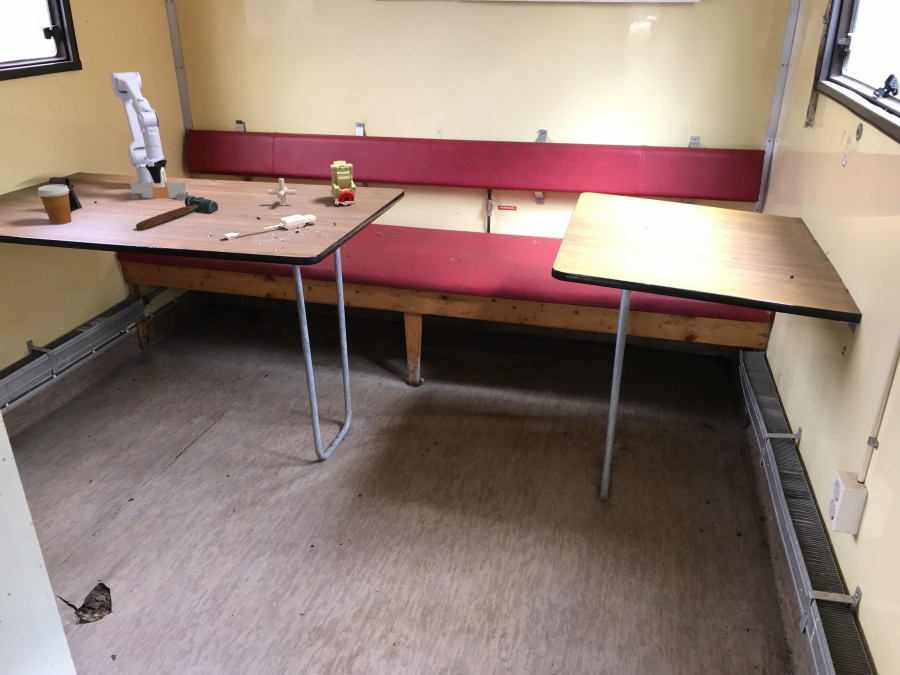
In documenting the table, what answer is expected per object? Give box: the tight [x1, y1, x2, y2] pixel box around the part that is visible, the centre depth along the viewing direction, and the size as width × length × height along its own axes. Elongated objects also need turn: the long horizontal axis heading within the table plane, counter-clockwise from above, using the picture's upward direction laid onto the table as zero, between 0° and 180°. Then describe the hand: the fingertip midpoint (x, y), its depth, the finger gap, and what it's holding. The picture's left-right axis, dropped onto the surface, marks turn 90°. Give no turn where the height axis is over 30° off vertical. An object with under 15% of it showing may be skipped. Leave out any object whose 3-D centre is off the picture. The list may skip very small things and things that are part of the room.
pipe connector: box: [267, 177, 297, 205], centre depth 253 cm, size 10×10×10 cm
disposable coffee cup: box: [37, 184, 72, 225], centre depth 233 cm, size 10×10×12 cm
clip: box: [150, 167, 168, 188], centre depth 261 cm, size 5×4×6 cm
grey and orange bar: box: [129, 181, 189, 201], centre depth 263 cm, size 6×20×6 cm, turn 90°
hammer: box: [135, 195, 219, 231], centre depth 239 cm, size 14×5×30 cm
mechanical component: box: [330, 160, 357, 202], centre depth 256 cm, size 8×17×20 cm, turn 19°
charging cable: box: [224, 214, 317, 237], centre depth 227 cm, size 5×32×3 cm, turn 126°
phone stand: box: [48, 176, 83, 213], centre depth 245 cm, size 9×6×12 cm, turn 170°
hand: (159, 181), depth 261 cm, fingers closed on clip, 5 cm apart
